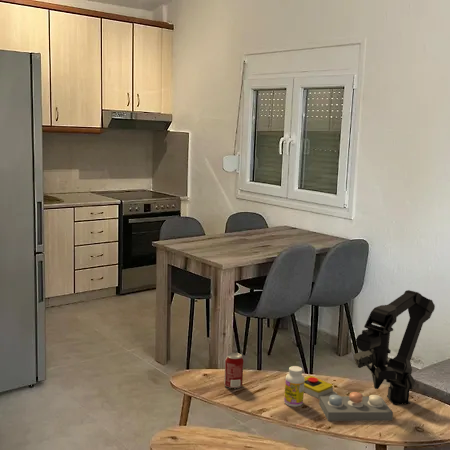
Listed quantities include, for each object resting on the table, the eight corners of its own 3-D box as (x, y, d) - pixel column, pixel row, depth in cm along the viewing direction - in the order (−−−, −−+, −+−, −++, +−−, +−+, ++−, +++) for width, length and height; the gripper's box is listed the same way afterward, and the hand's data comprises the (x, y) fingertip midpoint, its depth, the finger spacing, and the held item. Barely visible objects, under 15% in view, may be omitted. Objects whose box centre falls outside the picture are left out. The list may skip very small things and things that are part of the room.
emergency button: (307, 370, 225) (339, 383, 214) (307, 381, 226) (338, 395, 215) (291, 376, 219) (323, 390, 208) (291, 387, 220) (322, 402, 209)
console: (379, 404, 208) (380, 395, 207) (392, 420, 196) (393, 411, 195) (319, 404, 206) (319, 395, 205) (327, 420, 194) (328, 411, 193)
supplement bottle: (280, 402, 206) (282, 368, 204) (291, 397, 210) (293, 363, 208) (295, 409, 201) (297, 373, 199) (306, 403, 206) (308, 368, 204)
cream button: (379, 399, 203) (379, 394, 203) (383, 405, 199) (384, 400, 198) (367, 399, 203) (367, 394, 202) (371, 405, 198) (371, 400, 198)
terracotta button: (360, 396, 202) (360, 392, 202) (364, 402, 198) (364, 397, 198) (347, 396, 202) (348, 392, 202) (351, 402, 198) (351, 397, 197)
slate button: (340, 399, 202) (340, 394, 202) (343, 405, 198) (344, 400, 197) (327, 399, 201) (327, 394, 201) (331, 405, 197) (331, 400, 197)
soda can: (242, 390, 214) (243, 359, 213) (224, 389, 214) (225, 358, 213) (242, 382, 221) (243, 352, 219) (224, 381, 221) (225, 351, 219)
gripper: (348, 335, 206) (345, 377, 208) (365, 354, 188) (361, 400, 190) (379, 335, 207) (375, 377, 209) (399, 355, 189) (395, 400, 191)
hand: (376, 388), depth 200 cm, fingers closed
